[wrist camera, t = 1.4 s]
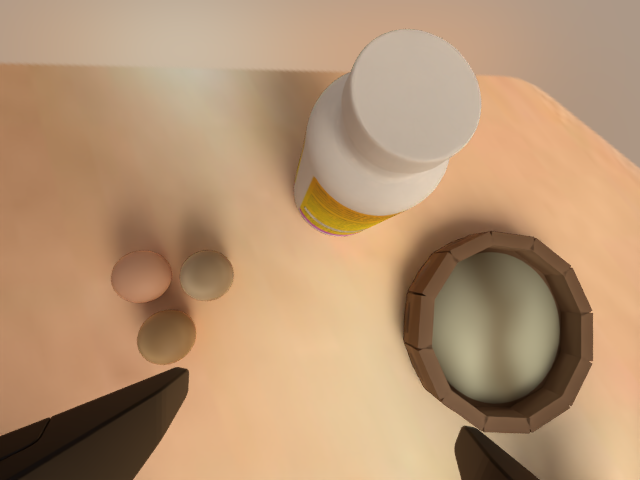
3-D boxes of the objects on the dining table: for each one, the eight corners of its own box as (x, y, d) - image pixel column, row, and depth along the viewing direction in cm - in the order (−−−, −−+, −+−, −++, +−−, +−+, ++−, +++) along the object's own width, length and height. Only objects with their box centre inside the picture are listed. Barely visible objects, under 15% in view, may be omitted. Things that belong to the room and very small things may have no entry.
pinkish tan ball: (138, 307, 19) (111, 315, 16) (119, 263, 19) (89, 262, 16) (185, 287, 20) (169, 291, 17) (167, 244, 20) (148, 240, 17)
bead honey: (161, 364, 19) (139, 383, 16) (143, 319, 19) (117, 329, 16) (209, 342, 20) (196, 356, 17) (190, 298, 20) (174, 304, 17)
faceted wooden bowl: (451, 453, 22) (471, 474, 19) (374, 278, 22) (385, 279, 20) (591, 365, 24) (623, 374, 22) (520, 209, 25) (544, 203, 22)
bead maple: (199, 306, 20) (185, 313, 17) (180, 263, 20) (163, 261, 17) (243, 286, 21) (238, 289, 17) (225, 244, 21) (217, 240, 17)
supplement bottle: (385, 231, 23) (527, 183, 10) (300, 243, 21) (337, 207, 9) (370, 147, 23) (488, -1, 10) (286, 155, 22) (304, 0, 9)
